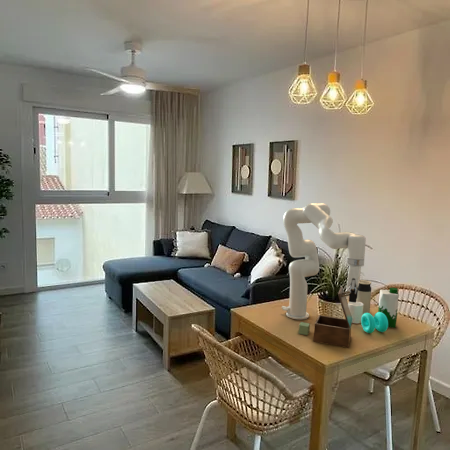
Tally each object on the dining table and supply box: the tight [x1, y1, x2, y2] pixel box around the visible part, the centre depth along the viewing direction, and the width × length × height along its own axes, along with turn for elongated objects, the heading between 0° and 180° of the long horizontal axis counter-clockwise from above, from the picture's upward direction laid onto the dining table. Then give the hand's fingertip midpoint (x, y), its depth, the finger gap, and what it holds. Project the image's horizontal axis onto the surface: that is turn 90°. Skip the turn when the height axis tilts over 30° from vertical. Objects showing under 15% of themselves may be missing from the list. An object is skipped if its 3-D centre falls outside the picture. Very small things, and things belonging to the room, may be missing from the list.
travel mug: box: [356, 279, 372, 315], centre depth 223 cm, size 8×8×18 cm
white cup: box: [347, 301, 364, 325], centre depth 209 cm, size 8×8×10 cm
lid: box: [337, 286, 353, 328], centre depth 181 cm, size 16×13×6 cm
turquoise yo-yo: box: [360, 311, 389, 334], centre depth 195 cm, size 10×10×10 cm
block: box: [298, 321, 311, 336], centre depth 193 cm, size 4×4×4 cm
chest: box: [313, 314, 353, 348], centre depth 185 cm, size 16×13×9 cm
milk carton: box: [377, 287, 400, 329], centre depth 204 cm, size 9×9×20 cm
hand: (353, 299), depth 180 cm, fingers closed on lid, 5 cm apart
